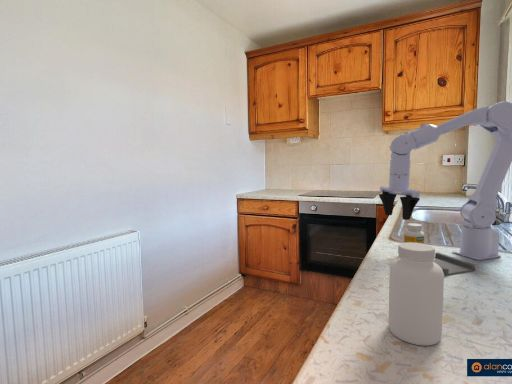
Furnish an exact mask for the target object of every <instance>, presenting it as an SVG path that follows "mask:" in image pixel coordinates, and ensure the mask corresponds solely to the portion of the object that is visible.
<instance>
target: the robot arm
mask: <svg viewBox="0 0 512 384" xmlns="http://www.w3.org/2000/svg"><path fill="white" fill-rule="evenodd" d="M466 126H474V127H477V126H480V127H482V129H484V130H486V131H487V132H489V133H490V134H491V136H492V137H493V138H494V139H495V143H494V145H493V148H492V150H491V153H490V155H489V157H488V160H487V162H486V164H485V167H484V168H483V169H484V170H483V172H482V174H481V176H480V179H479V181H478V184H477V186H476V187H475V190H474V192H473V193H472V194H471V195H470V196H469V197H468V198H467V199H468V200H467V201H466V202H465V203H464V204H463V205H462V206H461V207H460V210H459V214H460V216H461V218H462V219H463V221H461V228H460V229H461V231H460V245H459V247H460V248H459V249H458V250H457V249H456V250H453V251H452V253H454V254H457V255H460V256H463V257H466V258H469V259H473V260H477V261H482V260H487V259H495V258H501V257H502V255H501V254H499V244H500V233H499V230H498V229H497V228H496V227H495V226H493V224H495V222H496V218H497V216H496V215H497V214H496V210H497V207H498V202H497V196H498V194H499V193H500V189H501V187H502V184H503V183H504V180H505V178H506V176H507V173H508V171H509V170H510V167H511V164H512V102H509V101H499V102H496V103H494V104H493V105H490V104H489V105H486V106H482V107H479V108H475V109H472V110H470V111H467V112H465V113H462V114H460V115H459V116H455V117H454V118H451V119H449V120H447V121H444V122H442V123H440V124H438V125H435V124H431V123H428V124H426V123H423V124H421V125H419V128H416V129H413V130H412V131H406V132H405V131H404V133H403V134H400V135H399V136H397V137H395V138H394V139H392V141H391V142H390V145H389V150H390V151H391V154H390V160H389V179H388V186H380V188H379V194H378V197H379V199H380V200H381V201H380V202H382V206H383V209H384V215H385V216H392V215H393V212H394V203H395V200H396V197H397V195H398V196H400V197H399V199H400V203H401V209H402V220H404V221H407V220H410V219H411V217H412V215H413V211H414V209H415V207H416V205H418V203H419V202H420V196H421V194H420V193H421V191H420V190H417V189H416V190H415V189H412V188H410V176H411V152H412V151H414V150H415V151H416V150H417V149H418V150H419V149H420V148H424V147H425V146H428V145H431V144H433V143H437V141H438V140H439V138H440V136H441V135H444V134H447V133H450V132H452V131H455V130H457V129H460V128H464V127H466Z"/></svg>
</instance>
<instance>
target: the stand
mask: <svg viewBox="0 0 512 384" xmlns="http://www.w3.org/2000/svg"><path fill="white" fill-rule="evenodd" d="M434 258H435V261H434V263H436V264H438V265H439V266H440V267H441V268H442V270H443V273H444V277H445V276H446V277H447V276H451V275H458V274H464V273H469V272H474V271H476V264H474V263H471V262H469V261H465V260H462V259H459V258H456V257H453V256H450V255H447V254H444V253H441V252H435V257H434Z"/></svg>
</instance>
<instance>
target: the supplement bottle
mask: <svg viewBox="0 0 512 384" xmlns="http://www.w3.org/2000/svg"><path fill="white" fill-rule="evenodd" d="M422 230H423V224H421V223H414V222H409V223H407V224H406V230H405V231H404V233H403V243H408V242H413V243H422V244H425V232H423V231H422Z"/></svg>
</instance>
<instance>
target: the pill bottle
mask: <svg viewBox="0 0 512 384" xmlns="http://www.w3.org/2000/svg"><path fill="white" fill-rule="evenodd" d="M397 250H398V251H397V253H398V255H397V256H398V258H396V259H394V260H393V261H392V262H391V263H390V264H389V265H390V266H389V274H388V275H389V277H388V278H389V279H388V280H389V282H388V283H389V285H388V320H387V321H388V329H389V330H390V332H391V333H392V334H393V335H394V336H395V337H396V338H398V339H399V340H402V341H404V342H405V343H409V344H413V345H415V346H416V345H417V346H427V347H428V346H432V345H436V344H437V343H439V342H440V341H441V339H442V334H443V314H444V312H443V311H444V309H443V308H444V288H445V286H444V285H445V275H444V273H443V270H442V268H441V267H440V266H439V265H438V264H436V263H434V261H435V258H434V257H435V253H436V249H435V248H434V246H432V245H430V244H426V243H424V244H422V243H413V242H408V243H404V242H401V243H400V244H398V246H397Z"/></svg>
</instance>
